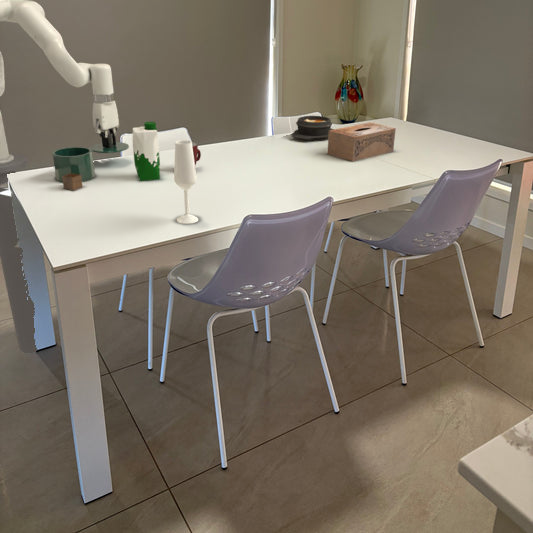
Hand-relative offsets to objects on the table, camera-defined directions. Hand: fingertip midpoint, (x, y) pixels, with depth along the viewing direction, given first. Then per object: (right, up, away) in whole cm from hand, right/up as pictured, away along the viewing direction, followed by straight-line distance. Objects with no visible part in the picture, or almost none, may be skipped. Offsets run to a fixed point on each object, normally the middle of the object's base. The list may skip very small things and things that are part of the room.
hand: (109, 145), depth 231 cm
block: (-6, -20, -24) cm, 32 cm away
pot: (-9, -14, -13) cm, 21 cm away
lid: (0, -1, 0) cm, 1 cm away
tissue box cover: (+102, +1, +22) cm, 104 cm away
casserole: (+84, +14, +46) cm, 96 cm away
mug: (+32, -10, -3) cm, 34 cm away
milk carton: (+18, -14, -13) cm, 26 cm away
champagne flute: (+37, -33, -50) cm, 71 cm away
